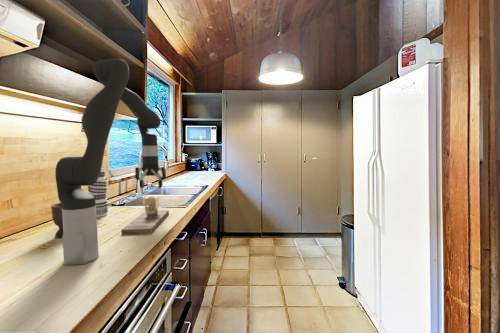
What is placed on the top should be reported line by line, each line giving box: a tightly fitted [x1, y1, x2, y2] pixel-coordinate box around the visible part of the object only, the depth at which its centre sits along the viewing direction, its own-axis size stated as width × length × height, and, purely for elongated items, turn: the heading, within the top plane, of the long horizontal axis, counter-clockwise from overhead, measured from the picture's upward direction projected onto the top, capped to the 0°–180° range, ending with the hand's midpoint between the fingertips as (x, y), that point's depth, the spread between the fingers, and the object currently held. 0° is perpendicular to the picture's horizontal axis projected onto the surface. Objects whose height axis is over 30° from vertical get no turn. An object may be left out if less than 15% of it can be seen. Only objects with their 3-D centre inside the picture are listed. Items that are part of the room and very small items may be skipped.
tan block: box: [144, 195, 160, 213], centre depth 132 cm, size 11×5×6 cm, turn 4°
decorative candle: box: [87, 167, 109, 218], centre depth 143 cm, size 9×9×25 cm
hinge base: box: [120, 197, 170, 235], centre depth 128 cm, size 32×12×11 cm, turn 4°
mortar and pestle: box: [50, 202, 64, 239], centre depth 111 cm, size 12×9×20 cm
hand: (151, 187), depth 134 cm, fingers open, 8 cm apart
